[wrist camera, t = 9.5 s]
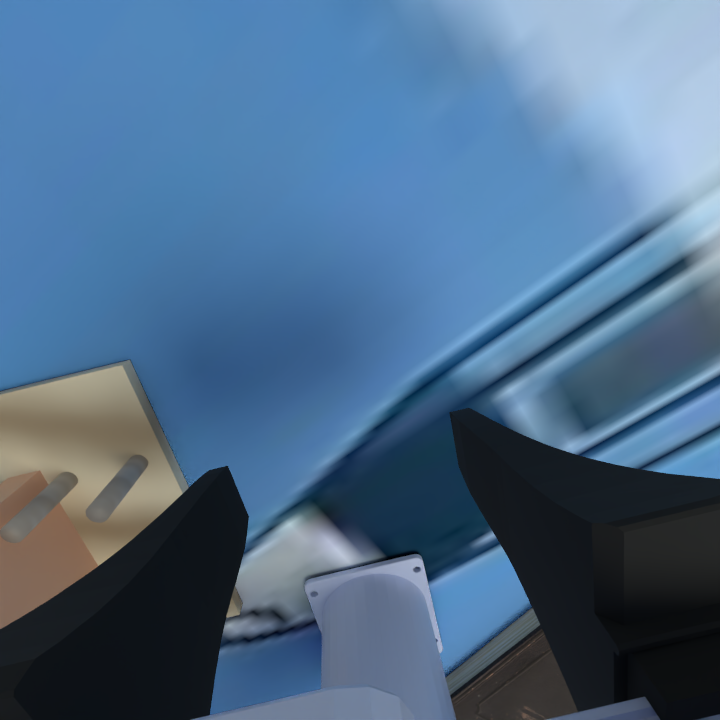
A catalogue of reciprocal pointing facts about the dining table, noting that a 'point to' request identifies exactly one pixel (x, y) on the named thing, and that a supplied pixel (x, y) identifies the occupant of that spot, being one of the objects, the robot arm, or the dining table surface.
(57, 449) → the dish rack
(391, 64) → the dining table surface
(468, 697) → the hardcover book
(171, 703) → the robot arm
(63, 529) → the brown rectangular block
